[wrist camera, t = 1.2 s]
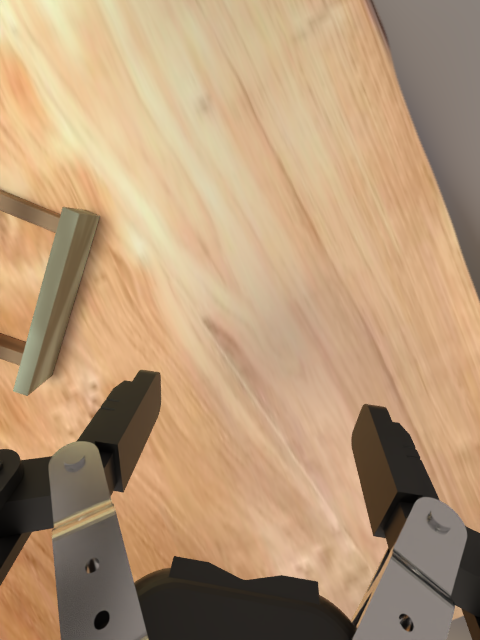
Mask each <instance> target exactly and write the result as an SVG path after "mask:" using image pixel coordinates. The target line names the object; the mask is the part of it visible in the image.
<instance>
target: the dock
mask: <svg viewBox="0 0 480 640" xmlns="http://www.w3.org/2000/svg"><path fill="white" fill-rule="evenodd" d="M0 210H1V211H3V212H6V213H8V214H11V215H13V216H15V217H18V218H20V219H23V220H25V221H28V222H30V223H33V224H35V225H38V226H40V227H42V228H45V229H47V230H50V231H52V232H55V233H56V234H55V238H54V242H53V245H52V249H51V253H50V257H49V260H48V264H47V268H46V271H45V275H44V279H43V282H42V286H41V290H40V293H39V297H38V301H37V305H36V308H35V312H34V316H33V319H32V323H31V327H30V330H29V334H28V338H27V342H24V341H21V340H18V339H15V338H12V337H10V336H7V335H4V334H1V333H0V359H3V360H5V361H8V362H11V363H14V364H17V365H20V367H19V371H18V375H17V378H16V382H15V386H14V390H13V391H14V392H17V393H20V394H23V395H26V396H28V395H29V394H30V393H32V392H33V391H34V390H35V389H36V388H37V387H39V386H40V385H41V384H42V383H43V382H45V381H46V380H47V379H48V378H49V377H51V376H52V374H53V371H54V367H55V364H56V361H57V357H58V354H59V351H60V347H61V344H62V341H63V338H64V334H65V331H66V328H67V324H68V321H69V318H70V314H71V311H72V308H73V304H74V301H75V298H76V294H77V291H78V288H79V284H80V281H81V278H82V274H83V271H84V268H85V264H86V261H87V258H88V254H89V251H90V248H91V244H92V241H93V238H94V235H95V231H96V228H97V225H98V221H99V218H100V216H99V215H97V214H94V213H92V212H89V211H87V210H82V209H74V208H67V207H63V209H62V212H61V215H60V214H58V213H55V212H53V211H51V210H48V209H46V208H43V207H41V206H39V205H36V204H34V203H31V202H29V201H27V200H24V199H22V198H19V197H17V196H15V195H12V194H10V193H7V192H5V191H3V190H0Z"/></svg>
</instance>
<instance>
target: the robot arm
mask: <svg viewBox="0 0 480 640" xmlns="http://www.w3.org/2000/svg"><path fill="white" fill-rule="evenodd" d="M160 407H161V377H160V373H159V372H153V371H146V370H140V371H139V372H138V373H137V375H136V377H135V378H134V380H133V381H132V382H131V381H123V382H122V383H121V384H119V385H118V386H116V387H115V388H113V390H112V391H111V393H110V394H109V396H108V397H107V399H106V400H105V401H104V403H103V404H102V406H101V408H100V409H99V410H98V411H97V413H96V414H95V416H94V417H93V419H92V420H91V422H90V423H89V424H88V426H87V427H86V429H85V430H84V432H83V433H82V434H81V436H80V437H79V439H78V440H77V441H76V442H73V443H70V444H68V445H66V446H64V447H62V448H61V449H59V450H58V451H57V452H56V453H55V454H54V455H53V456H50V457H44V458H36V459H28V460H20V457H19V455H18V454H17V453H16V452H15V451H13V450H9V449H1V450H0V585H1V584H2V582H3V580H4V579H5V577H6V575H7V573H8V572H9V570H10V568H11V567H12V565H13V563H14V562H15V560H16V558H17V556H18V555H19V553H20V551H21V550H22V548H23V546H24V544H25V543H26V541H27V539H28V538H29V536H30V534H31V533H32V532H33V531H39V530H45V529H51V528H54V529H53V530H52V543H53V554H54V566H55V577H56V588H57V599H58V611H59V622H60V633H61V640H447V636H448V632H449V629H450V625H451V621H452V617H453V613H454V609H455V605H456V606H458V607H460V608H461V609H462V611H463V614H464V617H465V620H466V622H467V626H468V628H469V631H470V634H471V637H472V640H480V533H478V532H476V531H474V530H472V529H470V528H468V527H466V526H465V525H464V523H463V521H462V520H461V518H460V517H459V516H458V514H457V513H456V512H455V511H454V510H453V509H451V508H450V507H449V506H448V505H446V504H445V503H443V502H441V501H440V500H439V498H438V496H437V493H436V491H435V489H434V487H433V485H432V482H431V480H430V478H429V476H428V474H427V471H426V469H425V467H424V465H423V463H422V461H421V460H420V456H419V454H418V452H417V450H415V445H414V443H413V441H412V439H411V437H410V435H409V433H408V432H407V431H406V430H405V429H404V428H403V427H402V426H401V425H400V423H395V422H392V420H391V417H390V415H389V412H388V410H387V408H386V407H381V406H375V405H368V404H364V405H363V407H362V409H361V411H360V414H359V417H358V419H357V422H356V425H355V427H354V430H353V433H352V450H353V454H354V458H355V462H356V467H357V471H358V475H359V479H360V483H361V487H362V491H363V495H364V499H365V503H366V508H367V512H368V516H369V520H370V524H371V528H372V532H373V536H376V537H382V538H386V540H387V544H388V549H387V550H386V552H385V554H384V556H383V558H382V560H381V562H380V564H379V566H378V568H377V570H376V572H375V574H374V576H373V578H372V580H371V582H370V585H369V587H368V589H367V591H366V593H365V595H364V597H363V599H362V601H361V603H360V604H359V606H358V608H357V610H356V612H355V614H354V615H353V617H352V619H351V621H350V619H349V618H348V617H347V616H346V615H345V614H344V613H343V612H342V611H341V610H340V609H339V608H337V607H336V606H335V605H334V604H333V603H331V602H330V601H328V600H327V599H325V598H324V597H322V596H320V595H319V590H318V582H316V581H311V580H305V579H299V578H294V577H288V576H282V575H281V576H274V577H266V578H259V579H252V580H243V579H240V578H238V577H236V576H234V575H232V574H230V573H228V572H227V571H225V570H223V569H221V568H219V567H217V566H215V565H213V564H211V563H209V562H204V561H198V560H193V559H187V558H181V557H176V556H174V558H173V562H172V566H171V568H165V569H161V570H158V571H155V572H152V573H150V574H148V575H146V576H144V577H142V578H141V579H139V580H137V581H136V582H135V583H134V581H133V577H132V573H131V569H130V565H129V562H128V558H127V554H126V550H125V546H124V542H123V538H122V534H121V530H120V527H119V523H118V519H117V515H116V511H115V508H114V504H113V503H112V501H111V495H112V493H113V491H118V492H124V490H125V488H126V486H127V483H128V481H129V479H130V477H131V475H132V473H133V470H134V468H135V466H136V464H137V462H138V459H139V457H140V455H141V453H142V451H143V448H144V446H145V444H146V442H147V440H148V437H149V435H150V433H151V431H152V429H153V426H154V424H155V422H156V420H157V418H158V415H159V412H160Z"/></svg>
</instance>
